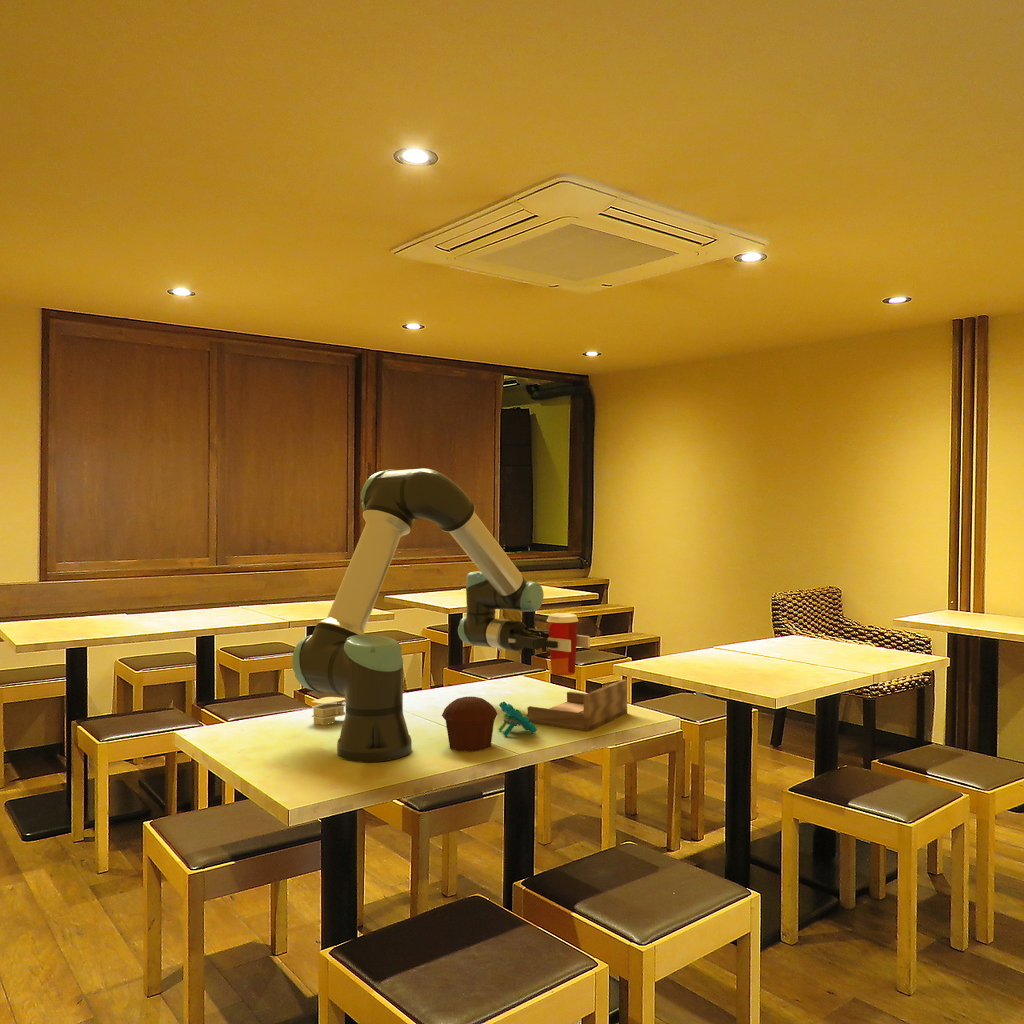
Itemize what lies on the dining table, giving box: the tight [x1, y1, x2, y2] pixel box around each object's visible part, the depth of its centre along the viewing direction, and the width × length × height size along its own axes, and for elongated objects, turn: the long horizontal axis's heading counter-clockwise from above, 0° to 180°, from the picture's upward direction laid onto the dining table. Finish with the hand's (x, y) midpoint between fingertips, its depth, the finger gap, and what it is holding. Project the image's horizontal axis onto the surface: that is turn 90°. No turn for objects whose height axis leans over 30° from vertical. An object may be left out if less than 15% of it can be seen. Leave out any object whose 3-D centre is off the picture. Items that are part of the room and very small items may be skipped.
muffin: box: [441, 696, 499, 753], centre depth 180 cm, size 12×11×10 cm
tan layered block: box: [311, 696, 346, 726], centre depth 202 cm, size 10×9×6 cm
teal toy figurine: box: [497, 701, 538, 737], centre depth 189 cm, size 11×6×10 cm
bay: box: [527, 679, 628, 732], centre depth 203 cm, size 20×16×8 cm
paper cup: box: [546, 612, 579, 676], centre depth 206 cm, size 8×8×14 cm
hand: (579, 644), depth 202 cm, fingers closed on paper cup, 6 cm apart
